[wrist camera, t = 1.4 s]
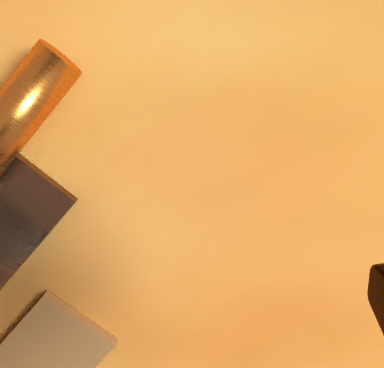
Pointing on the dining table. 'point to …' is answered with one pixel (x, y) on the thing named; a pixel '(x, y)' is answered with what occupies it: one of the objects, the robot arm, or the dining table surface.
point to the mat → (55, 338)
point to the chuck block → (22, 168)
